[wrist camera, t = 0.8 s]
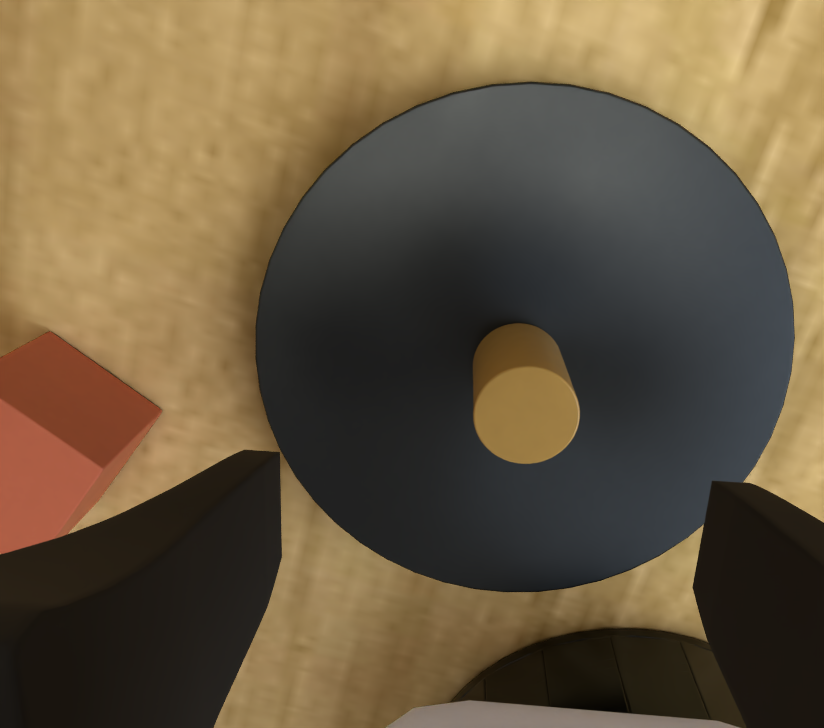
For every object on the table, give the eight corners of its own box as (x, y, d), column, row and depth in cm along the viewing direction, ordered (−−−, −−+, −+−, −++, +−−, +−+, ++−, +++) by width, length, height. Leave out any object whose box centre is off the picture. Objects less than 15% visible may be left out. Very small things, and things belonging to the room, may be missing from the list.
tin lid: (541, 650, 25) (557, 768, 21) (171, 387, 23) (99, 454, 18) (894, 315, 21) (1010, 373, 16) (479, -45, 19) (481, -91, 14)
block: (98, 500, 24) (30, 573, 21) (-12, 427, 24) (-103, 487, 20) (163, 410, 23) (104, 469, 19) (50, 329, 23) (-35, 375, 19)
